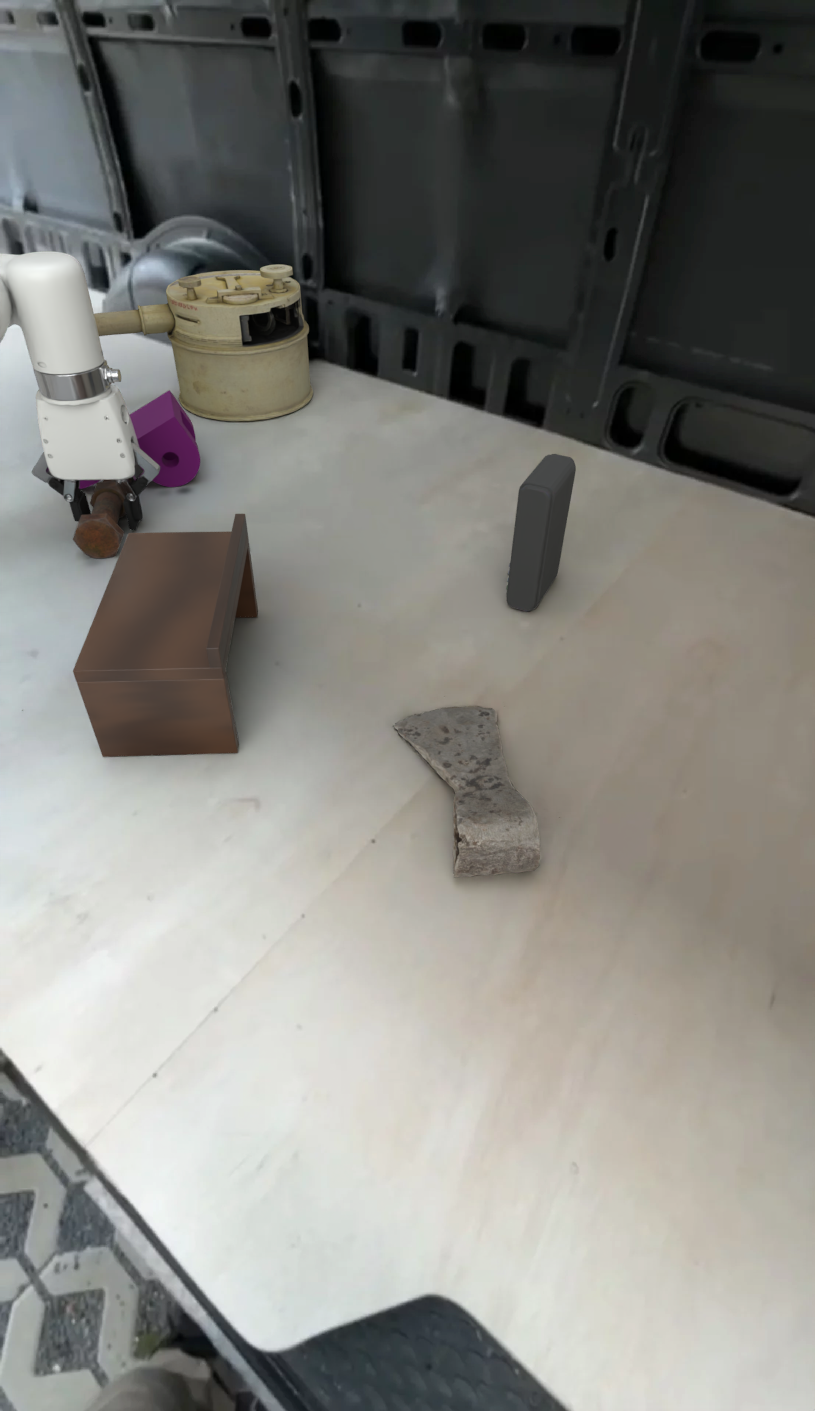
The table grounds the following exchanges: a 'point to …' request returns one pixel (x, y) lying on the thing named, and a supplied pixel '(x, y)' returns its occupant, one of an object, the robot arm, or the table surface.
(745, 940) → the table surface
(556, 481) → the card reader
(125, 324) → the mechanical device
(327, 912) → the table surface
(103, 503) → the bolt
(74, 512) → the robot arm
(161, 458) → the mounting bracket
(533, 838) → the axe head
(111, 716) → the shelf
